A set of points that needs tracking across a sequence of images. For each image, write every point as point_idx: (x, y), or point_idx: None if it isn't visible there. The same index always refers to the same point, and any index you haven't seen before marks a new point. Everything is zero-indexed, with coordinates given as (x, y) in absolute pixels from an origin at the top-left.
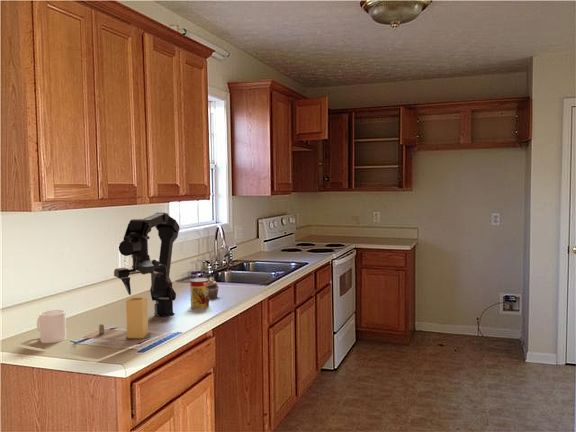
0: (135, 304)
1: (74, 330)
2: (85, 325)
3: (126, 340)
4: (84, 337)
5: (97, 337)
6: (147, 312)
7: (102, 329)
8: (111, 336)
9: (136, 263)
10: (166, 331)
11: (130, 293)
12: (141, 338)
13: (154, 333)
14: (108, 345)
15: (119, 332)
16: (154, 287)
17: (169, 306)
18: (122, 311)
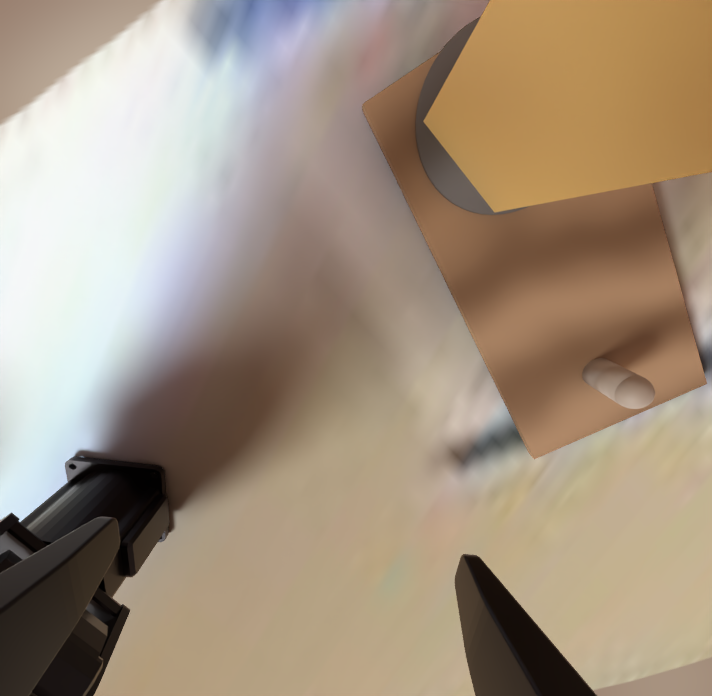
0: None
1: (598, 548)
2: (515, 584)
3: None
4: (701, 374)
5: (665, 317)
6: (480, 20)
7: (624, 368)
8: (605, 271)
9: None
10: (270, 142)
11: (475, 567)
12: None
13: (384, 98)
14: None
15: (520, 317)
16: (41, 563)
17: (57, 505)
18: (272, 665)
